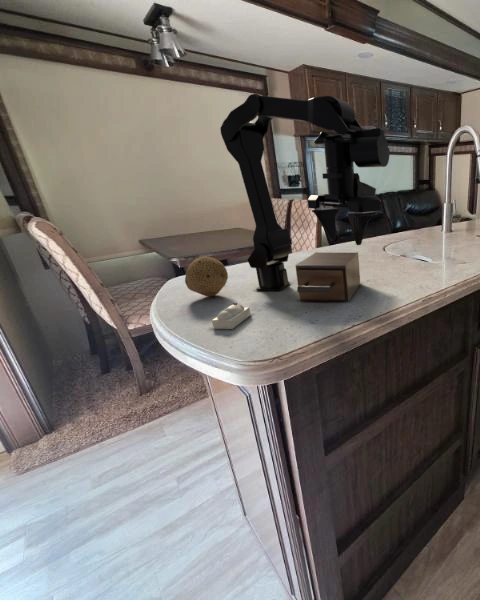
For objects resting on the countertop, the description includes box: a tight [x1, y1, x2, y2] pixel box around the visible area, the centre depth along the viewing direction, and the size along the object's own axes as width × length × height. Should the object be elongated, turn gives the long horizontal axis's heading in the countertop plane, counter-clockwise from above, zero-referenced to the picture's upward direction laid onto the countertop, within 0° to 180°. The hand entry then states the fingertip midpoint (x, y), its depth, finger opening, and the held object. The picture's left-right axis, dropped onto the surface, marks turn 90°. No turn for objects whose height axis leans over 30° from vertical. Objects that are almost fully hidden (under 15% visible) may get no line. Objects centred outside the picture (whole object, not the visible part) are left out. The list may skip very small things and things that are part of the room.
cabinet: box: [295, 251, 361, 302], centre depth 79 cm, size 14×12×9 cm
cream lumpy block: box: [211, 302, 251, 330], centre depth 63 cm, size 7×4×3 cm, turn 175°
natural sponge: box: [184, 256, 229, 298], centre depth 76 cm, size 9×9×10 cm
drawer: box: [296, 269, 345, 300], centre depth 75 cm, size 17×10×7 cm, turn 175°
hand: (345, 242), depth 72 cm, fingers open, 9 cm apart
